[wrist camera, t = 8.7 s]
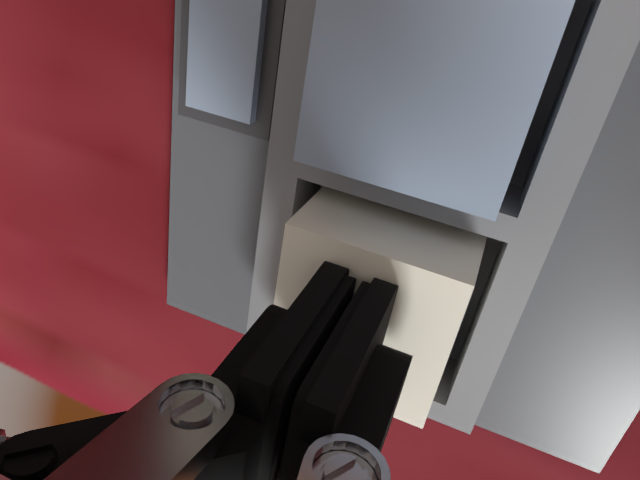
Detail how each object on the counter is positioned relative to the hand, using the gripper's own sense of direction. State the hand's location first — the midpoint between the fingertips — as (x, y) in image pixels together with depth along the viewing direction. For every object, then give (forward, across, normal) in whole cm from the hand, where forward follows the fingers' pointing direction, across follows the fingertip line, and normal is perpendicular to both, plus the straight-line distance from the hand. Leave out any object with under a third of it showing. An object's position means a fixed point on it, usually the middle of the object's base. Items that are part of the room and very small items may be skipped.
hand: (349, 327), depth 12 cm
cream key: (+2, 0, 0) cm, 3 cm away
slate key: (+3, 0, -5) cm, 6 cm away
